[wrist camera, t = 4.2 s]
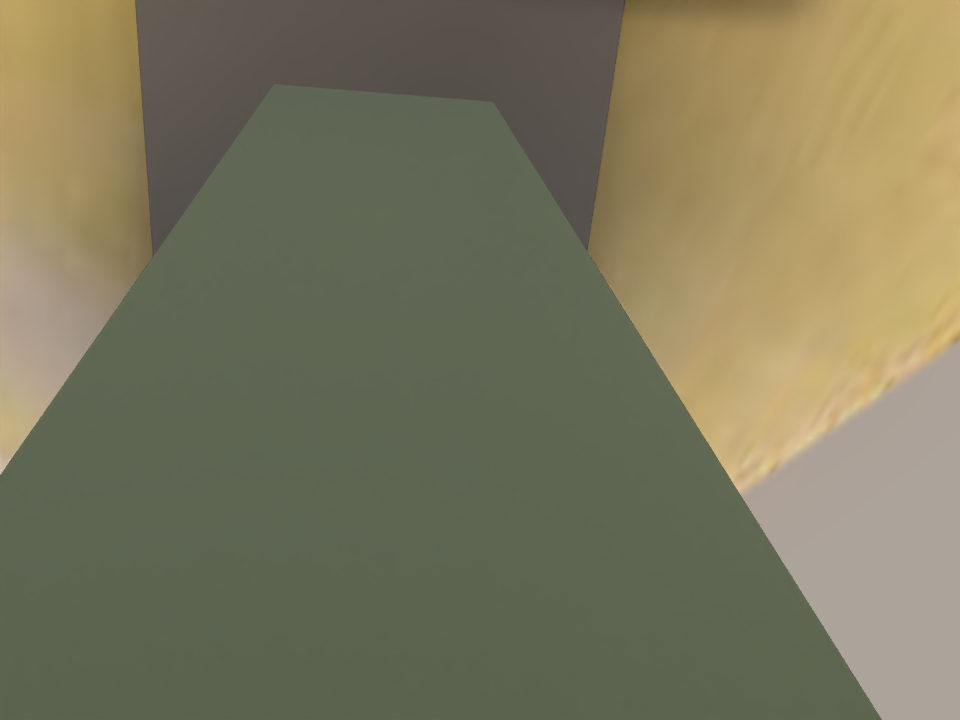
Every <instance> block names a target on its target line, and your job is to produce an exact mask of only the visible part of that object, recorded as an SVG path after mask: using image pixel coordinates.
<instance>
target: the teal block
mask: <svg viewBox="0 0 960 720" xmlns="http://www.w3.org/2000/svg"><path fill="white" fill-rule="evenodd" d="M0 720H882V719H881V718H880V716H879V715H878V713H877V711H876V710H875V708H874V707H873V705H872V703H871V702H870V700H869V699H868V697H867V696H866V694H865V692H864V691H863V689H862V687H861V686H860V684H859V683H858V681H857V680H856V678H855V677H854V675H853V673H852V672H851V670H850V668H849V667H848V665H847V664H846V662H845V660H844V659H843V657H842V656H841V654H840V653H839V651H838V649H837V648H836V646H835V645H834V643H833V641H832V640H831V638H830V637H829V635H828V634H827V632H826V630H825V629H824V627H823V625H822V624H821V622H820V621H819V619H818V618H817V616H816V614H815V613H814V611H813V610H812V608H811V606H810V605H809V603H808V602H807V600H806V599H805V597H804V595H803V594H802V592H801V591H800V589H799V587H798V586H797V584H796V583H795V581H794V579H793V578H792V576H791V575H790V573H789V572H788V570H787V568H786V567H785V565H784V563H783V562H782V561H781V559H780V557H779V556H778V554H777V552H776V551H775V549H774V548H773V546H772V544H771V543H770V541H769V540H768V538H767V537H766V535H765V533H764V532H763V530H762V529H761V527H760V525H759V524H758V522H757V521H756V519H755V517H754V516H753V514H752V513H751V511H750V510H749V508H748V506H747V505H746V503H745V501H744V500H743V498H742V497H741V495H740V494H739V492H738V490H737V489H736V487H735V486H734V484H733V482H732V481H731V479H730V478H729V476H728V474H727V473H726V471H725V470H724V468H723V467H722V465H721V463H720V462H719V460H718V459H717V457H716V455H715V454H714V452H713V451H712V449H711V447H710V446H709V444H708V443H707V441H706V439H705V438H704V436H703V435H702V433H701V432H700V430H699V428H698V427H697V425H696V424H695V422H694V420H693V419H692V417H691V416H690V414H689V412H688V411H687V409H686V408H685V406H684V405H683V403H682V401H681V400H680V398H679V397H678V395H677V393H676V392H675V390H674V389H673V387H672V385H671V384H670V382H669V381H668V379H667V377H666V376H665V374H664V373H663V371H662V370H661V368H660V366H659V365H658V363H657V362H656V360H655V358H654V357H653V355H652V354H651V352H650V350H649V349H648V347H647V346H646V344H645V343H644V341H643V339H642V338H641V336H640V335H639V333H638V331H637V330H636V328H635V327H634V325H633V323H632V322H631V320H630V319H629V317H628V315H627V314H626V312H625V311H624V309H623V308H622V306H621V304H620V303H619V301H618V300H617V298H616V296H615V295H614V293H613V292H612V290H611V288H610V287H609V285H608V284H607V282H606V281H605V279H604V277H603V276H602V274H601V273H600V271H599V269H598V268H597V266H596V265H595V263H594V261H593V260H592V258H591V257H590V255H589V253H588V252H587V250H586V249H585V247H584V246H583V244H582V242H581V241H580V239H579V238H578V236H577V234H576V233H575V231H574V230H573V228H572V226H571V225H570V223H569V222H568V220H567V219H566V217H565V215H564V214H563V212H562V211H561V209H560V207H559V206H558V204H557V203H556V201H555V199H554V198H553V196H552V195H551V193H550V191H549V190H548V188H547V187H546V185H545V184H544V182H543V180H542V179H541V177H540V176H539V174H538V172H537V171H536V169H535V168H534V166H533V164H532V163H531V161H530V160H529V158H528V157H527V155H526V153H525V152H524V150H523V149H522V147H521V145H520V144H519V142H518V141H517V139H516V137H515V136H514V134H513V133H512V131H511V130H510V128H509V126H508V125H507V123H506V122H505V120H504V118H503V117H502V115H501V114H500V112H499V110H498V109H497V107H496V106H495V104H494V102H487V101H475V100H463V99H451V98H439V97H427V96H414V95H402V94H390V93H378V92H366V91H354V90H342V89H330V88H318V87H305V86H293V85H281V84H274V85H273V86H272V88H271V89H270V91H269V92H268V94H267V95H266V96H265V98H264V99H263V101H262V102H261V104H260V105H259V106H258V108H257V109H256V111H255V112H254V114H253V115H252V116H251V118H250V119H249V121H248V122H247V124H246V125H245V126H244V128H243V129H242V131H241V132H240V134H239V135H238V136H237V138H236V139H235V141H234V142H233V144H232V145H231V146H230V148H229V149H228V151H227V152H226V154H225V155H224V156H223V158H222V159H221V161H220V162H219V164H218V165H217V166H216V168H215V169H214V171H213V172H212V174H211V175H210V176H209V178H208V179H207V181H206V182H205V184H204V185H203V186H202V188H201V189H200V191H199V192H198V194H197V195H196V196H195V198H194V199H193V201H192V202H191V204H190V205H189V206H188V208H187V209H186V211H185V212H184V214H183V215H182V216H181V218H180V219H179V221H178V222H177V224H176V225H175V226H174V228H173V229H172V231H171V232H170V234H169V235H168V236H167V238H166V239H165V241H164V242H163V244H162V245H161V246H160V248H159V249H158V251H157V252H156V254H155V255H154V256H153V258H152V259H151V261H150V262H149V264H148V265H147V266H146V268H145V269H144V271H143V272H142V274H141V275H140V276H139V278H138V279H137V281H136V282H135V284H134V285H133V286H132V288H131V289H130V291H129V292H128V294H127V295H126V296H125V298H124V299H123V301H122V302H121V304H120V305H119V306H118V308H117V309H116V311H115V312H114V314H113V315H112V316H111V318H110V319H109V321H108V322H107V324H106V325H105V326H104V328H103V329H102V331H101V332H100V334H99V335H98V336H97V338H96V339H95V341H94V342H93V344H92V345H91V346H90V348H89V349H88V351H87V352H86V354H85V355H84V356H83V358H82V359H81V361H80V362H79V364H78V365H77V366H76V368H75V369H74V371H73V372H72V374H71V375H70V376H69V378H68V379H67V381H66V382H65V384H64V385H63V386H62V388H61V389H60V391H59V392H58V394H57V395H56V396H55V398H54V399H53V401H52V402H51V404H50V405H49V406H48V408H47V409H46V411H45V412H44V414H43V415H42V416H41V418H40V419H39V421H38V422H37V424H36V425H35V426H34V428H33V429H32V431H31V432H30V434H29V435H28V436H27V438H26V439H25V441H24V442H23V444H22V445H21V446H20V448H19V449H18V451H17V452H16V454H15V455H14V456H13V458H12V459H11V461H10V462H9V464H8V465H7V466H6V468H5V469H4V471H3V472H2V474H1V475H0Z"/></svg>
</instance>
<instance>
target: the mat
mask: <svg viewBox="0 0 960 720" xmlns="http://www.w3.org/2000/svg"><path fill="white" fill-rule="evenodd" d="M624 4H625V0H135V5H136V19H137V33H138V48H139V62H140V76H141V91H142V105H143V120H144V134H145V148H146V163H147V177H148V191H149V206H150V220H151V235H152V249H153V256H154V255H155V254H156V252H157V251H158V249H159V248H160V246H161V245H162V244H163V242H164V241H165V239H166V238H167V236H168V235H169V234H170V232H171V231H172V229H173V228H174V226H175V225H176V224H177V222H178V221H179V219H180V218H181V216H182V215H183V214H184V212H185V211H186V209H187V208H188V206H189V205H190V204H191V202H192V201H193V199H194V198H195V196H196V195H197V194H198V192H199V191H200V189H201V188H202V186H203V185H204V184H205V182H206V181H207V179H208V178H209V176H210V175H211V174H212V172H213V171H214V169H215V168H216V166H217V165H218V164H219V162H220V161H221V159H222V158H223V156H224V155H225V154H226V152H227V151H228V149H229V148H230V146H231V145H232V144H233V142H234V141H235V139H236V138H237V136H238V135H239V134H240V132H241V131H242V129H243V128H244V126H245V125H246V124H247V122H248V121H249V119H250V118H251V116H252V115H253V114H254V112H255V111H256V109H257V108H258V106H259V105H260V104H261V102H262V101H263V99H264V98H265V96H266V95H267V94H268V92H269V91H270V89H271V88H272V86H273V85H274V84H281V85H293V86H305V87H318V88H330V89H342V90H354V91H366V92H378V93H390V94H402V95H414V96H427V97H439V98H451V99H463V100H475V101H487V102H494V104H495V106H496V107H497V109H498V110H499V112H500V114H501V115H502V117H503V118H504V120H505V122H506V123H507V125H508V126H509V128H510V130H511V131H512V133H513V134H514V136H515V137H516V139H517V141H518V142H519V144H520V145H521V147H522V149H523V150H524V152H525V153H526V155H527V157H528V158H529V160H530V161H531V163H532V164H533V166H534V168H535V169H536V171H537V172H538V174H539V176H540V177H541V179H542V180H543V182H544V184H545V185H546V187H547V188H548V190H549V191H550V193H551V195H552V196H553V198H554V199H555V201H556V203H557V204H558V206H559V207H560V209H561V211H562V212H563V214H564V215H565V217H566V219H567V220H568V222H569V223H570V225H571V226H572V228H573V230H574V231H575V233H576V234H577V236H578V238H579V239H580V241H581V242H582V244H583V246H584V247H585V249H586V250H587V249H588V242H589V236H590V229H591V222H592V216H593V209H594V202H595V196H596V189H597V183H598V176H599V169H600V163H601V156H602V149H603V143H604V136H605V130H606V123H607V116H608V110H609V103H610V96H611V90H612V83H613V77H614V70H615V63H616V57H617V50H618V44H619V37H620V30H621V24H622V17H623V10H624Z"/></svg>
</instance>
